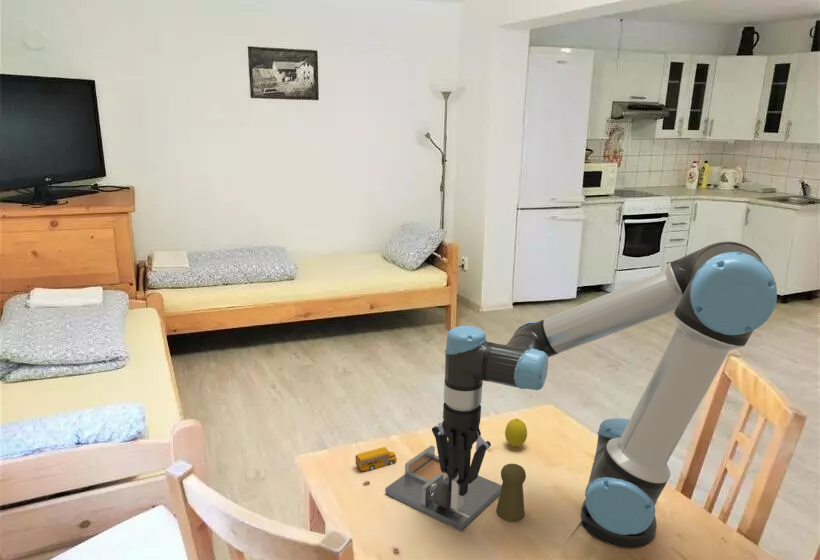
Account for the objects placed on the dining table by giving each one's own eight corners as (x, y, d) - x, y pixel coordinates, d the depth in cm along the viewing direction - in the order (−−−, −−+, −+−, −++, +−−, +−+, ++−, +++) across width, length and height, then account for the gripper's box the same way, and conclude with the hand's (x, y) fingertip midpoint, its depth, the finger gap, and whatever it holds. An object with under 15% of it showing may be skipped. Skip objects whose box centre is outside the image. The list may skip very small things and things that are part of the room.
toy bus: (397, 463, 148) (397, 449, 147) (360, 474, 143) (360, 459, 142) (391, 457, 150) (391, 443, 149) (355, 467, 146) (355, 453, 145)
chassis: (502, 491, 137) (504, 468, 136) (460, 531, 124) (462, 505, 122) (430, 461, 149) (431, 439, 147) (385, 494, 135) (385, 470, 134)
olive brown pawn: (502, 500, 134) (505, 456, 131) (528, 510, 131) (532, 465, 128) (491, 515, 129) (494, 469, 126) (518, 525, 126) (522, 478, 123)
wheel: (455, 501, 130) (456, 480, 129) (442, 512, 126) (443, 491, 125) (444, 496, 132) (445, 476, 131) (431, 507, 128) (432, 486, 127)
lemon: (500, 443, 158) (502, 415, 156) (519, 440, 160) (521, 412, 157) (510, 454, 153) (512, 425, 151) (529, 451, 154) (532, 422, 152)
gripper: (500, 406, 120) (493, 509, 126) (445, 387, 128) (441, 486, 134) (480, 420, 114) (474, 527, 120) (424, 400, 122) (421, 502, 128)
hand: (457, 505), depth 127 cm, fingers closed
